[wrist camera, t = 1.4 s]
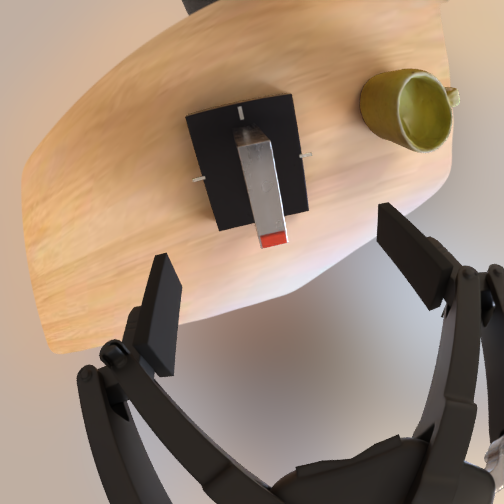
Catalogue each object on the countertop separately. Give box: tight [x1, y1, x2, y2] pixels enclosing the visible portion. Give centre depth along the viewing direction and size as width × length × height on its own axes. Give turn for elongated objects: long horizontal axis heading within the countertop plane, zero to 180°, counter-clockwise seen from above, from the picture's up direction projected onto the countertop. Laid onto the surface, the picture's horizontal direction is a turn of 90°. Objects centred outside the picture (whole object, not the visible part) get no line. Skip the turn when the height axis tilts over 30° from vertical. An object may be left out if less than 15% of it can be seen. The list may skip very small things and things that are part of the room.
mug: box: [360, 69, 460, 153], centre depth 24 cm, size 12×10×10 cm
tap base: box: [185, 93, 312, 231], centre depth 29 cm, size 14×13×3 cm
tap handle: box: [232, 124, 288, 248], centre depth 25 cm, size 9×2×9 cm, turn 11°
